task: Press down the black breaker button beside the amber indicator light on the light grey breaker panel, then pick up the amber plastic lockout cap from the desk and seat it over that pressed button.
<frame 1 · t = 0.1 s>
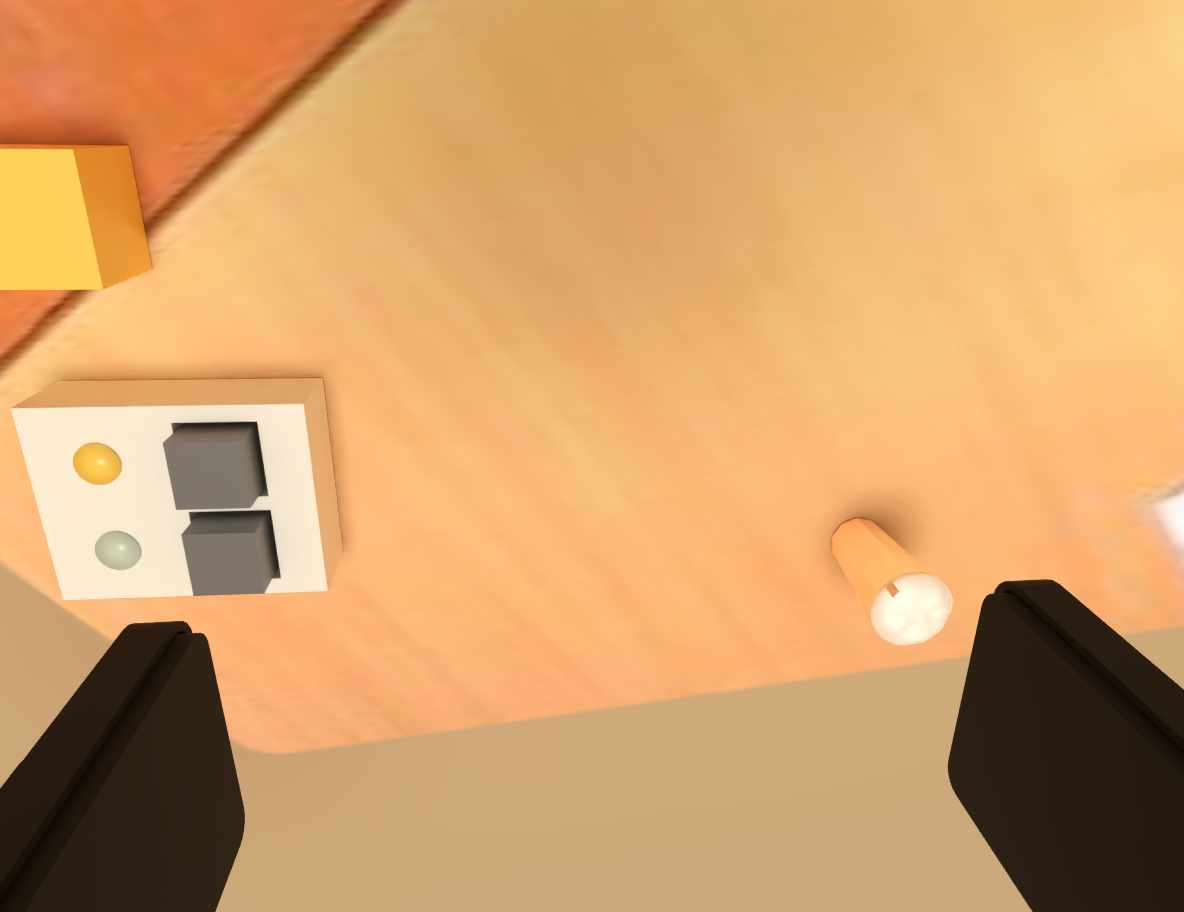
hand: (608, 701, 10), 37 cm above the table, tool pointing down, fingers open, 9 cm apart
milkshake: (850, 534, 52), on the table
lockout cap: (78, 208, 41), on the table
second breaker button: (235, 545, 44), point 4 cm above the table, slide at 0.0 cm
breaker panel: (208, 471, 47), on the table
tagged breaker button: (220, 460, 42), point 5 cm above the table, slide at 0.0 cm
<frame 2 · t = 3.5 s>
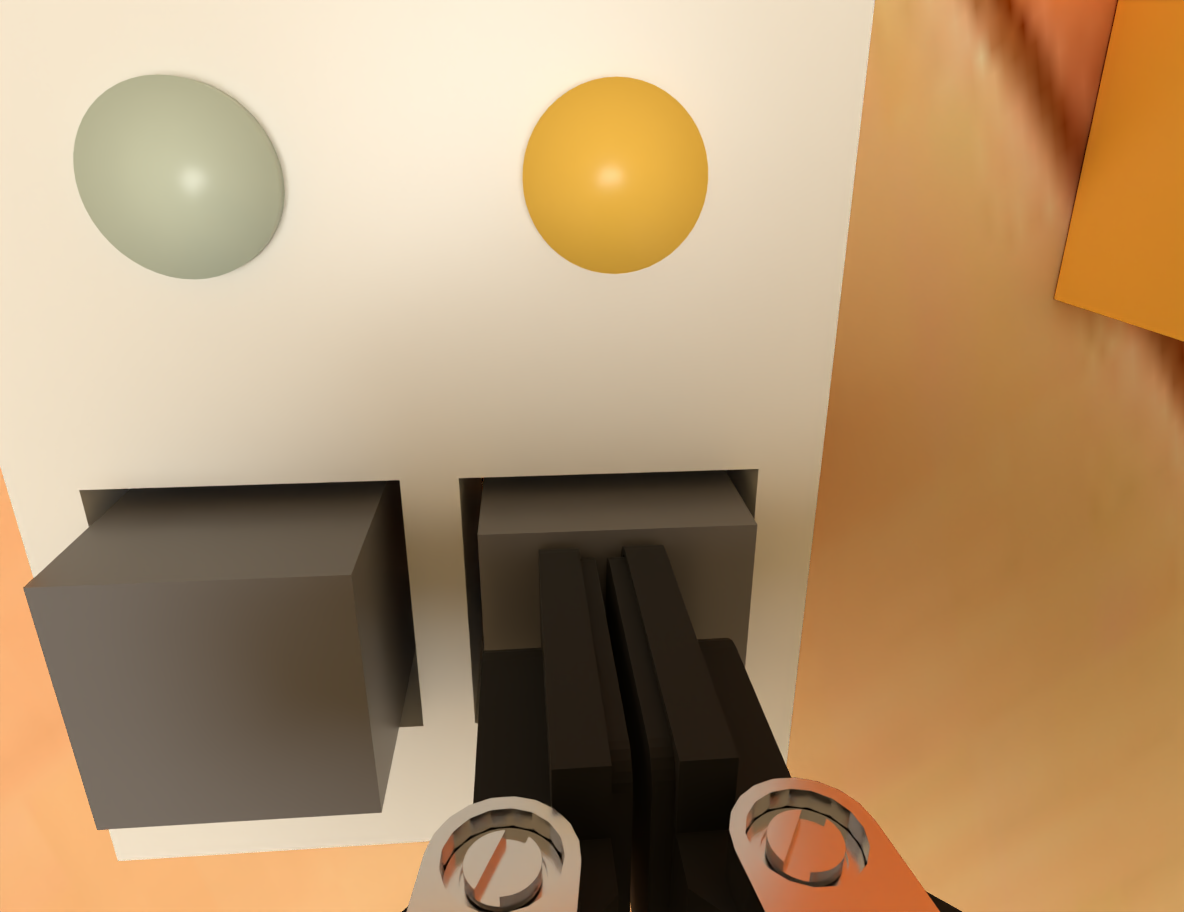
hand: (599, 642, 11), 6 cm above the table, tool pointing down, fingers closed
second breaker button: (265, 617, 12), point 4 cm above the table, slide at 0.0 cm
breaker panel: (453, 362, 15), on the table
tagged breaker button: (604, 572, 13), point 4 cm above the table, slide at 0.9 cm, touching gripper
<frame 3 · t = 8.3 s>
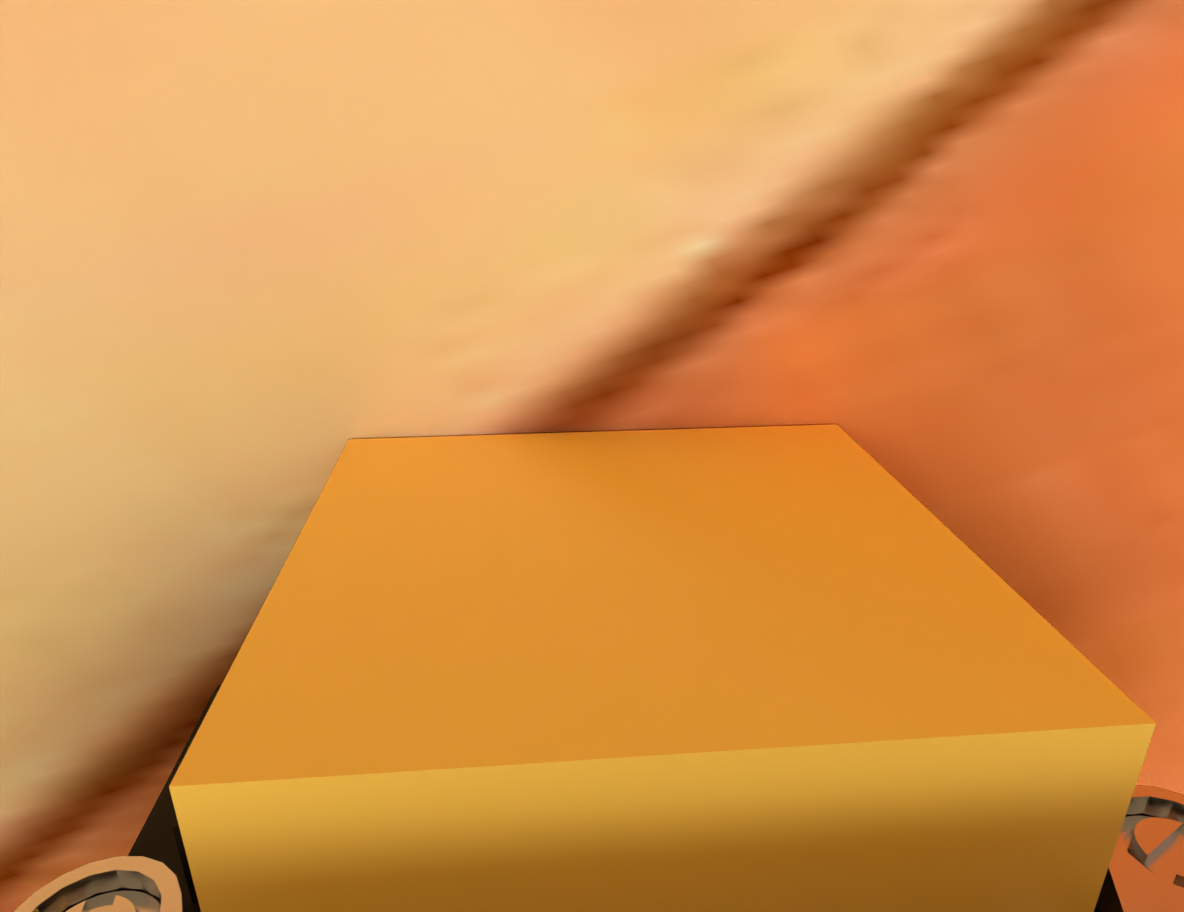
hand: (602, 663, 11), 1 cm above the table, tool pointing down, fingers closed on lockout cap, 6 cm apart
lockout cap: (598, 637, 11), on the table, touching gripper
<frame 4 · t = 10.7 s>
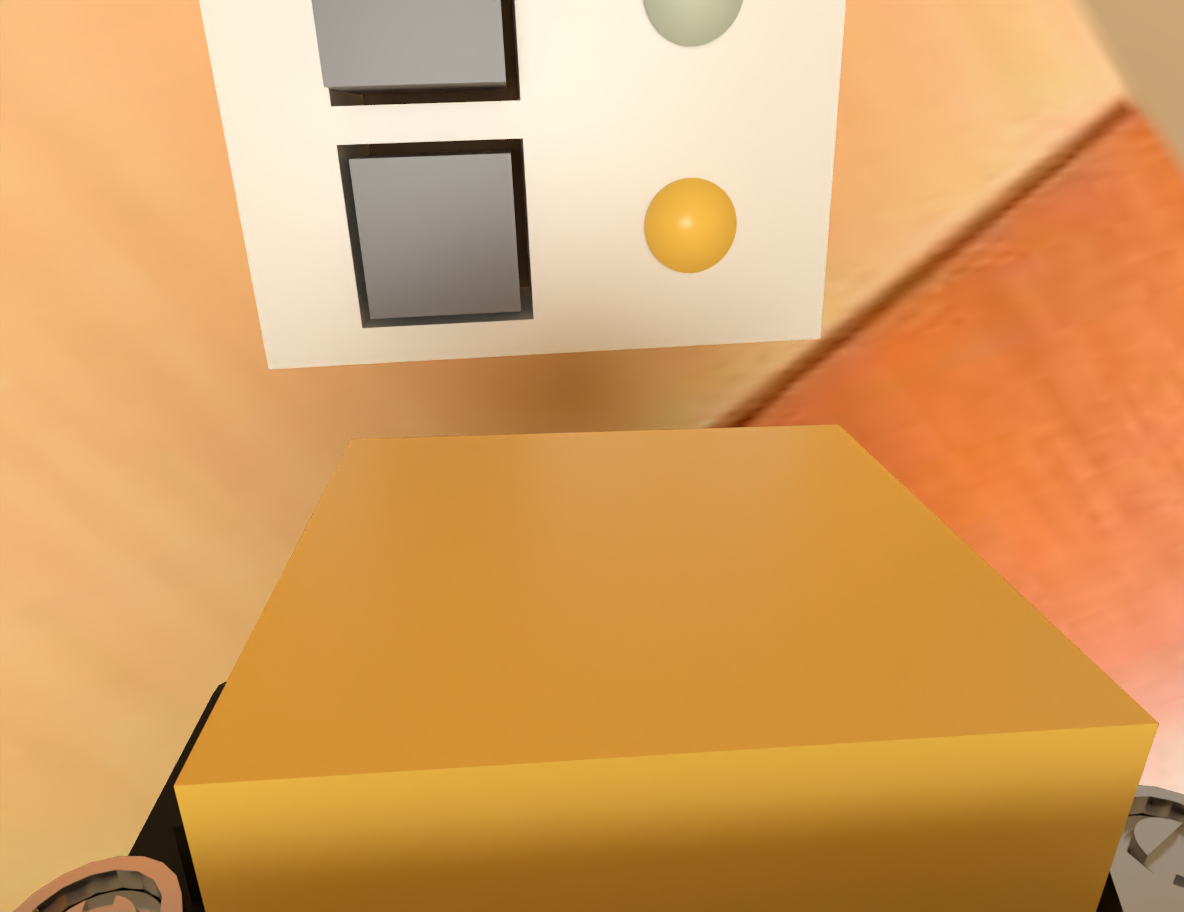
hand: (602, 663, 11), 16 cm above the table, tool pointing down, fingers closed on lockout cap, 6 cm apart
lockout cap: (599, 637, 11), point 15 cm above the table, touching gripper
breaker panel: (533, 120, 23), on the table
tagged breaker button: (444, 228, 21), point 3 cm above the table, slide at 1.6 cm
when the fingers open (7 cm above the table, at t = 13.2 s): lockout cap drops 1 cm, resting on breaker panel.
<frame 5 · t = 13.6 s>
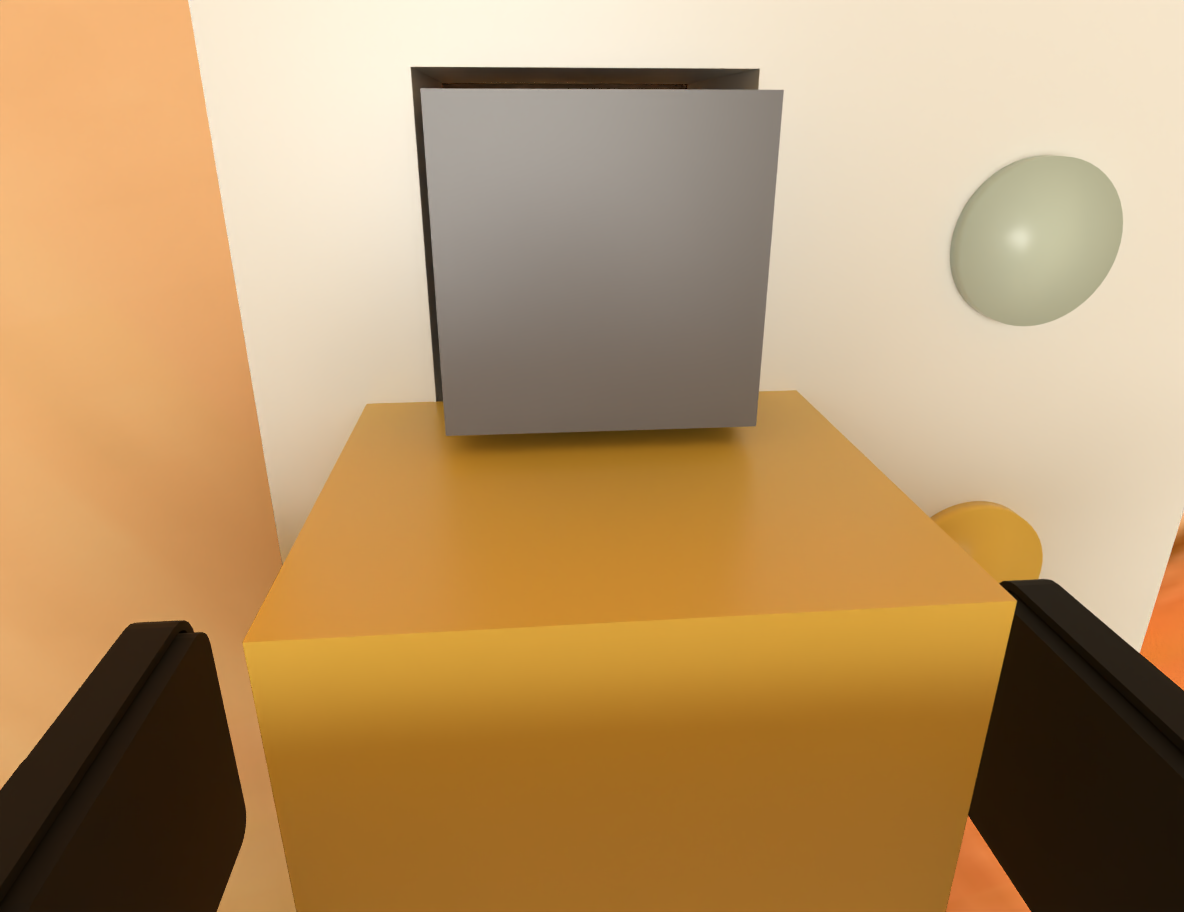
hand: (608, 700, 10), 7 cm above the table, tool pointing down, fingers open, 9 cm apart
lockout cap: (587, 583, 12), point 4 cm above the table, touching breaker panel
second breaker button: (588, 246, 11), point 4 cm above the table, slide at 0.0 cm
breaker panel: (696, 343, 16), on the table
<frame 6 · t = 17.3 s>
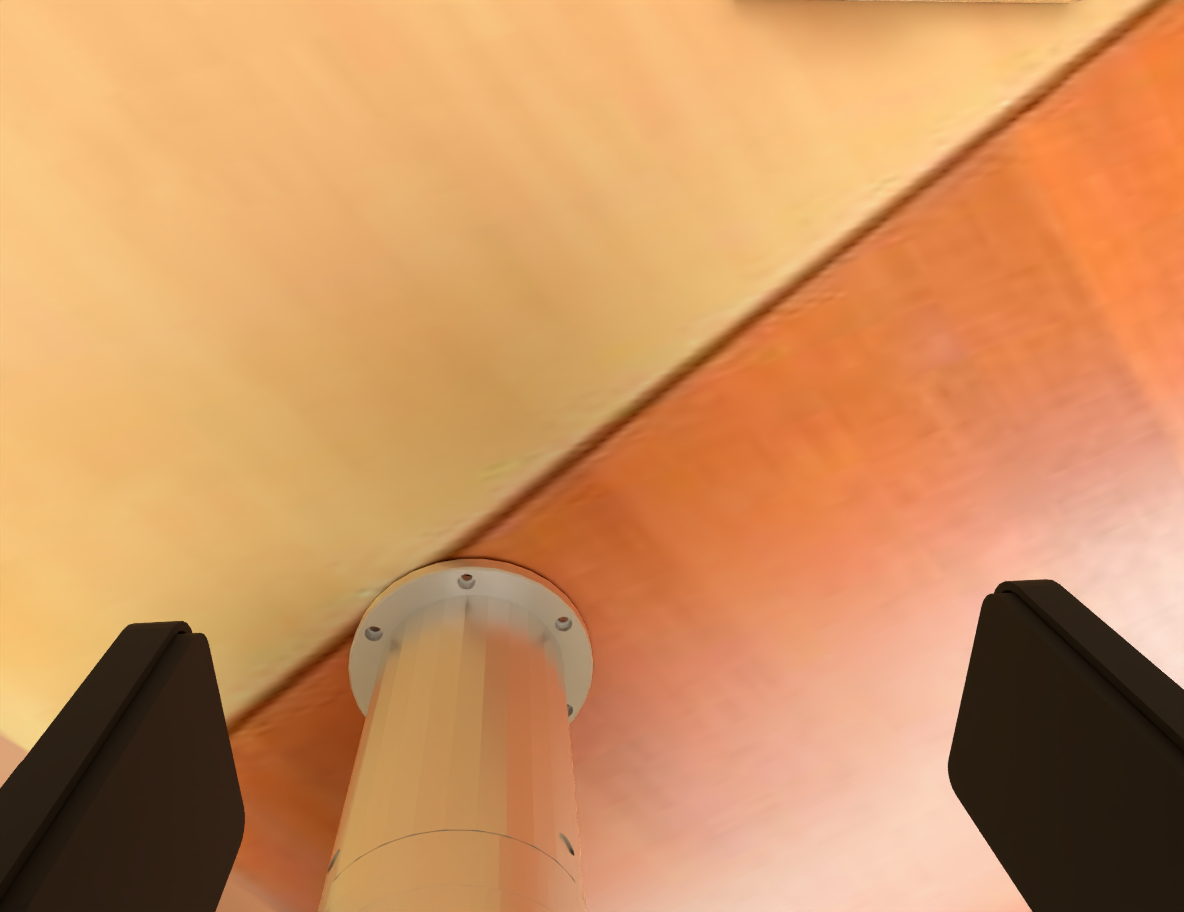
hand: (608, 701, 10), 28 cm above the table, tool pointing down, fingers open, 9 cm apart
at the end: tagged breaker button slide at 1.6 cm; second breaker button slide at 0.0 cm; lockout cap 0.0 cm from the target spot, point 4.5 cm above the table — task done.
